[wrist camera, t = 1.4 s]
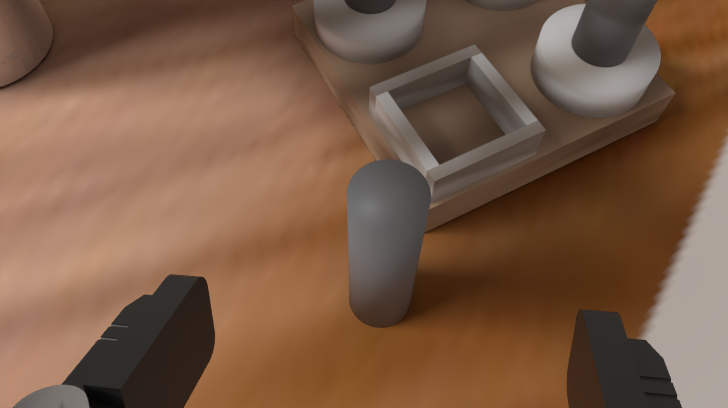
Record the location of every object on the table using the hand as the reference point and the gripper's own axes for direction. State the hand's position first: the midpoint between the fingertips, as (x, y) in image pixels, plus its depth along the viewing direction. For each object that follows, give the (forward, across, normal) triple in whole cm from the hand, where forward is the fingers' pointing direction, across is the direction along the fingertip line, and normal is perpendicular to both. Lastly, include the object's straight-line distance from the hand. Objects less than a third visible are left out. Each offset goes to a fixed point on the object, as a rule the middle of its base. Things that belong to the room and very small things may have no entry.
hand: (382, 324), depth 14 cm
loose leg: (+20, +3, +14) cm, 24 cm away
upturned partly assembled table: (+35, -2, +4) cm, 35 cm away
